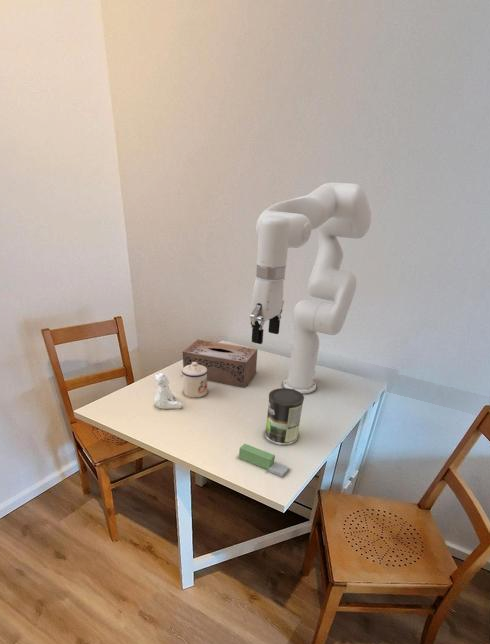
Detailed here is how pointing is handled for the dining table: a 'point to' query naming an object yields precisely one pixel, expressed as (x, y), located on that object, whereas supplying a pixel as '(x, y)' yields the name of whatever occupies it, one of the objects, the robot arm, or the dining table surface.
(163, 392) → the sitting furry creature
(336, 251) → the robot arm
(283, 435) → the coffee can
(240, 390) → the dining table surface
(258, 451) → the green bar grey end
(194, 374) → the teacup with lid
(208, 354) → the tissue box cover
